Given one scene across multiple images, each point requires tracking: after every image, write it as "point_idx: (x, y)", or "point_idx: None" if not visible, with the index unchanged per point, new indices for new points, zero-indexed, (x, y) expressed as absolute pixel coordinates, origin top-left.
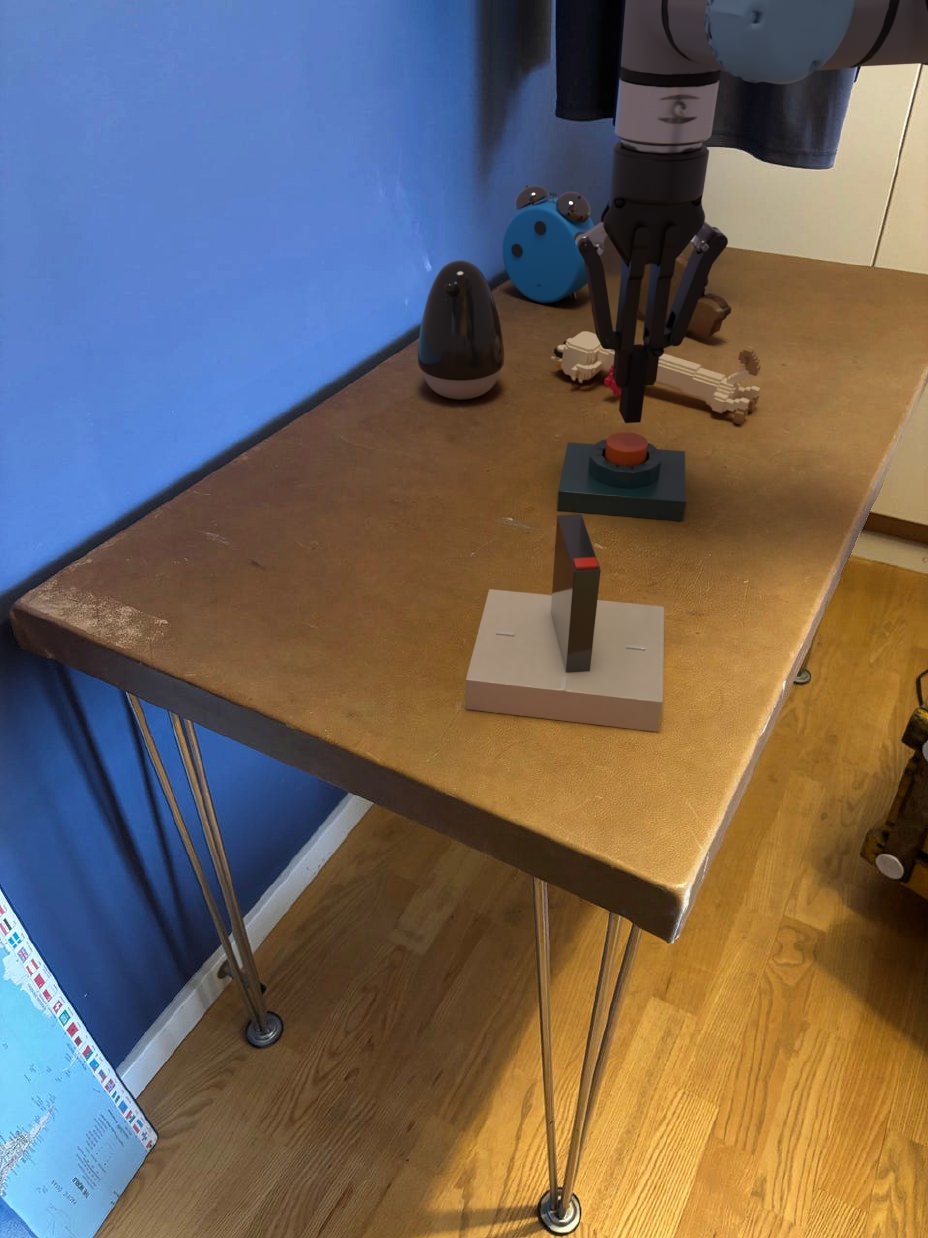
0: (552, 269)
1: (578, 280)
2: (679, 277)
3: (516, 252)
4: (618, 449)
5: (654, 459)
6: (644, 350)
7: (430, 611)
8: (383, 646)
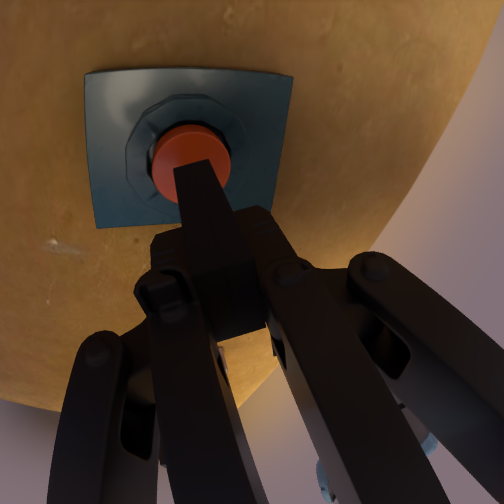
0: None
1: None
2: None
3: None
4: (176, 202)
5: (238, 171)
6: (257, 301)
7: (58, 358)
8: (53, 380)
